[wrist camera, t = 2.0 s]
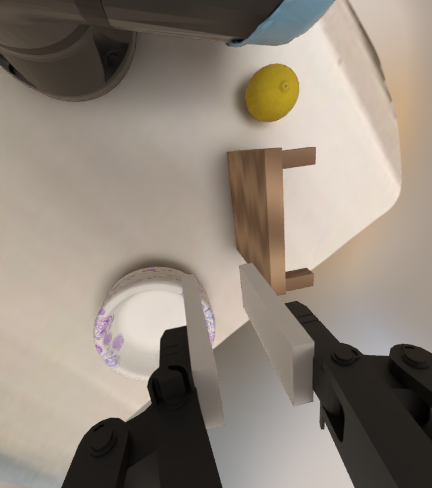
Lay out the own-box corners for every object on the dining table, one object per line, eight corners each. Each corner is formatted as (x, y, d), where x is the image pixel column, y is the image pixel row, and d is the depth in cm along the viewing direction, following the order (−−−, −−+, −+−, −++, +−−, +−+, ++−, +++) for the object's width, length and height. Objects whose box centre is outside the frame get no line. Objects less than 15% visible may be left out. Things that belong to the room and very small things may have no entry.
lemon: (235, 79, 31) (257, 55, 24) (278, 74, 32) (312, 49, 24) (240, 128, 33) (261, 120, 26) (280, 122, 34) (312, 113, 26)
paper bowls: (85, 287, 36) (64, 321, 29) (180, 240, 37) (183, 261, 29) (140, 358, 42) (134, 401, 35) (222, 316, 42) (234, 350, 35)
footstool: (227, 152, 34) (264, 149, 21) (259, 147, 34) (315, 143, 21) (236, 249, 39) (271, 296, 26) (265, 244, 39) (313, 288, 26)
